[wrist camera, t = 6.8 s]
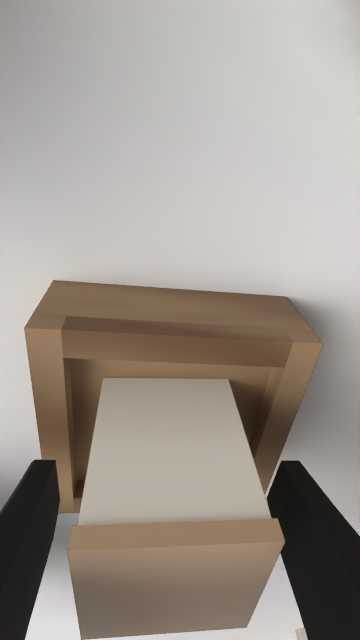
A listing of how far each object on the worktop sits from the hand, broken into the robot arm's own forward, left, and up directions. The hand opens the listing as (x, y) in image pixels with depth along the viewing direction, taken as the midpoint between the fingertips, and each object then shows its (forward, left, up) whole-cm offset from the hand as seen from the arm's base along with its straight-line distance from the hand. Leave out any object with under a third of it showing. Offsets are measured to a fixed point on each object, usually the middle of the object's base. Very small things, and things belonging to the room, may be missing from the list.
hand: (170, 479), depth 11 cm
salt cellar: (0, 0, -2) cm, 2 cm away
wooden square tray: (0, 0, -5) cm, 5 cm away
